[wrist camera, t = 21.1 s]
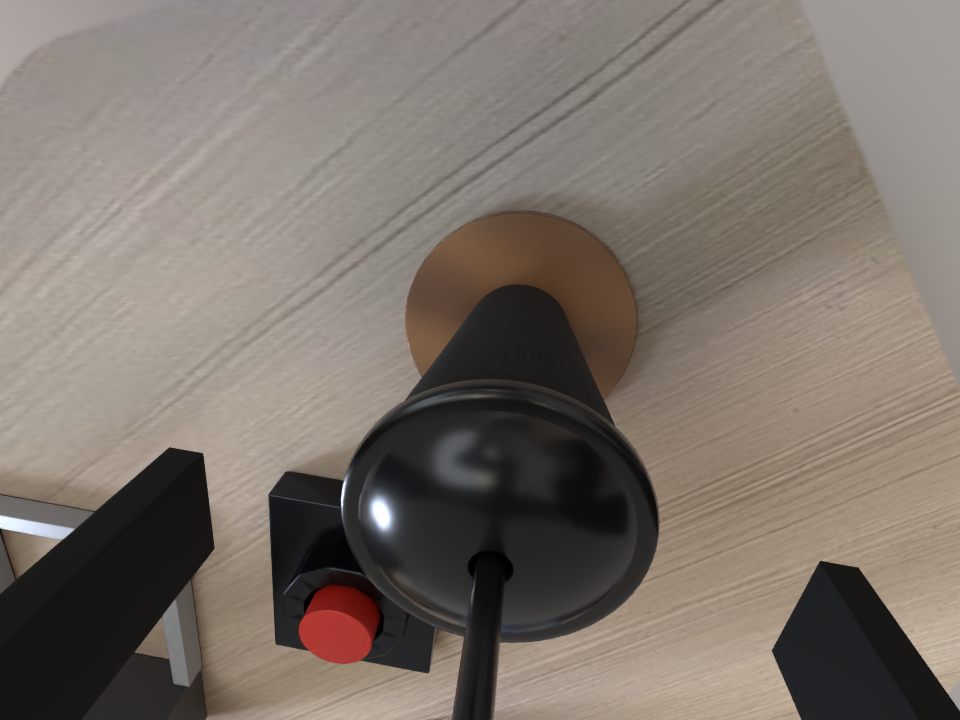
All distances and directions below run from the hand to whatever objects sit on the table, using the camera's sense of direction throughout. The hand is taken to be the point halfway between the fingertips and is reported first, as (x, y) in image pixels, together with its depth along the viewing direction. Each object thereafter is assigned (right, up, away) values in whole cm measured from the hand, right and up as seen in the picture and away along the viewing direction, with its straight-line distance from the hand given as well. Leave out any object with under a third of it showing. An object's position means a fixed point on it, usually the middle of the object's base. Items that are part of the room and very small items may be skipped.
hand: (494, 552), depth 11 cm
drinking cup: (+2, +6, +14) cm, 15 cm away
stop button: (-8, -10, +18) cm, 22 cm away
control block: (-7, -8, +21) cm, 24 cm away
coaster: (+2, +6, +14) cm, 15 cm away
